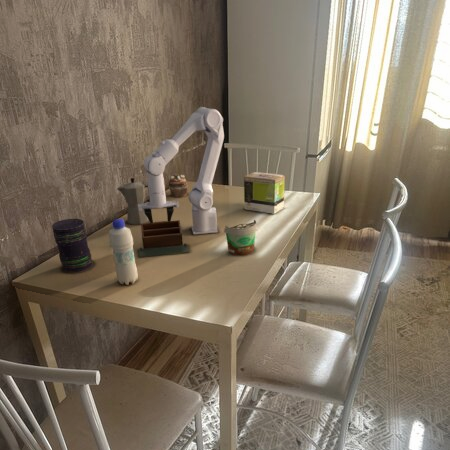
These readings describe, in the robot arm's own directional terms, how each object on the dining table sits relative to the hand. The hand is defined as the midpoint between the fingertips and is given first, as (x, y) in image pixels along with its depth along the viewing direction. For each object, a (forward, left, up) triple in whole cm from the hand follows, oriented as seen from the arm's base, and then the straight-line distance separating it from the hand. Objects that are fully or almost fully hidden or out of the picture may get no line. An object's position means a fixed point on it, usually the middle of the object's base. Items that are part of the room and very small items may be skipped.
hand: (161, 227), depth 154 cm
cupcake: (-11, -56, -5) cm, 57 cm away
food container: (-27, +20, -5) cm, 34 cm away
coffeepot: (+8, -23, -5) cm, 25 cm away
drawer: (0, +10, -2) cm, 10 cm away
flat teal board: (0, +12, -5) cm, 12 cm away
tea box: (-46, -24, -5) cm, 52 cm away
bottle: (+12, +32, -5) cm, 35 cm away
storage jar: (+29, +17, -5) cm, 34 cm away
